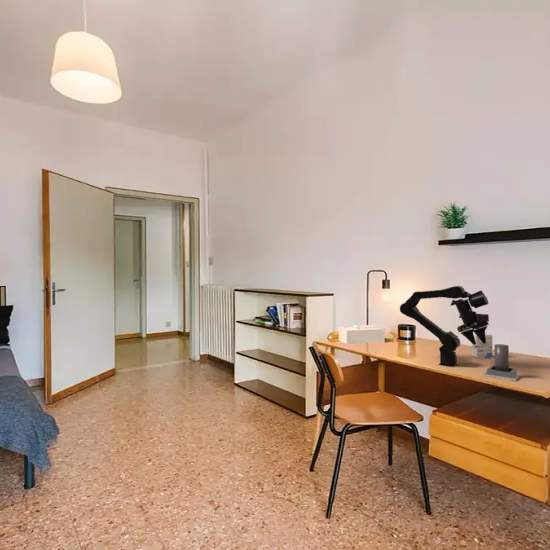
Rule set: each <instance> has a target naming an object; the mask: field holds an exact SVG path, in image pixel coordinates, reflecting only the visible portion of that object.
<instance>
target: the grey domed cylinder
mask: <svg viewBox="0 0 550 550" xmlns="http://www.w3.org/2000/svg"><path fill="white" fill-rule="evenodd" d="M509 348H510V347H509V345H507V344H504V343H503V344H501V343H499V344H498V343H497V344H494V365H495V370H499V371H506V372H509V368H510V366H509V365H510V363H509V361H510V357H509V353H510V352H509V351H510V350H509Z"/></svg>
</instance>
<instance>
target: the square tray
mask: <svg viewBox="0 0 550 550" xmlns="http://www.w3.org/2000/svg"><path fill="white" fill-rule="evenodd" d="M521 375H522V373H521V372H518V369H517V368H516V367H509V372H506V371H499V370H495V364H493V365H490V366H489V367H488V368H487V369H486V371H485V372H483V373H482V377H485V376H489V377H488V378H491V377H496V378H495V379H498V378H501V379H500V380H504V379H506V381H511V380H513V381H512V382H516V381H517V380H518V379H519V378H520V377H521Z"/></svg>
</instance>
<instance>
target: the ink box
mask: <svg viewBox="0 0 550 550" xmlns="http://www.w3.org/2000/svg"><path fill="white" fill-rule="evenodd" d="M473 335H474V338H475V341H476V345H473V344H472V343H471V356H472V357H473V356H474V357H473V358H475V357H476V358H475V359H486V358H487V357H492V358H493V335H492V334H489V333H485V337H486V343H485V344H483V343H482V341H481V340H480V339H479V338H478V337H477V335H476V334H475V333H473ZM487 359H488V358H487Z"/></svg>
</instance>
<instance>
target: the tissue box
mask: <svg viewBox="0 0 550 550" xmlns="http://www.w3.org/2000/svg"><path fill="white" fill-rule="evenodd" d="M385 332H386V331H385V328H382V327H379V325H378V324H367V325H366V324H365V325H357V324H354V325H353V326H342V327H341V326H339V327H338V341H340V342H341V343H344V344H346V345H356V344H357V345H358V344H359V345H362V344H381V343H380V342H384V343H385V342H386V340H385V338H386V337H385V336H386V335H385Z"/></svg>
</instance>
